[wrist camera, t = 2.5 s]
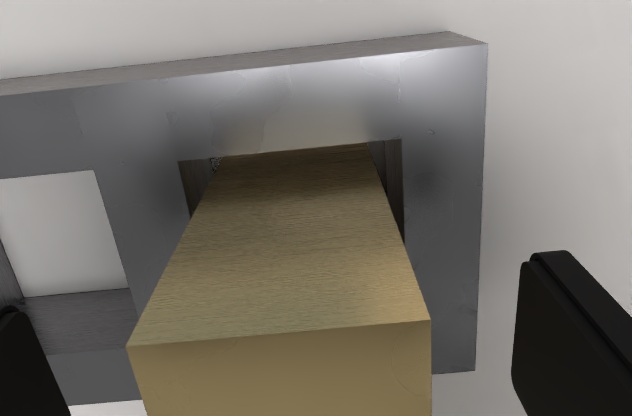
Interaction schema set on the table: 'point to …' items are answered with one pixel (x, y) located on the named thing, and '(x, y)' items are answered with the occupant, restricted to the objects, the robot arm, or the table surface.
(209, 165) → the cinder block
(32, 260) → the table surface
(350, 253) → the brass plug
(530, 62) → the table surface
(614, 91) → the table surface
